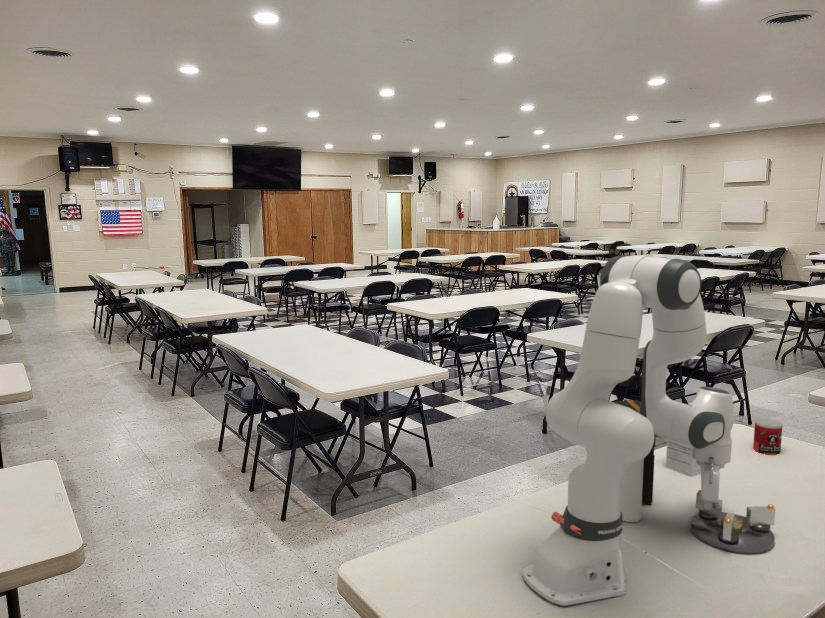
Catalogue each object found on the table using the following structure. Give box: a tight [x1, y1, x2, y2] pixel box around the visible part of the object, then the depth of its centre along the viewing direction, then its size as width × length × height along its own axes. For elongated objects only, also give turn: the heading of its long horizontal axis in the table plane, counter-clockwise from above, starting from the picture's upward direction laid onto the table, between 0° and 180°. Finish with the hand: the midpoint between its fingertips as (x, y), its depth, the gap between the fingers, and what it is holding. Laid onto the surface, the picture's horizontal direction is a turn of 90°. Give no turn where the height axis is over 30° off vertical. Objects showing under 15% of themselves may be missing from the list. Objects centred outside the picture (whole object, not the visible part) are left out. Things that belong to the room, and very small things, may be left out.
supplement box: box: [665, 440, 701, 477], centre depth 187 cm, size 9×9×15 cm
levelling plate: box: [689, 511, 775, 555], centre depth 149 cm, size 18×18×4 cm
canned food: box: [752, 418, 783, 456], centre depth 199 cm, size 8×8×11 cm
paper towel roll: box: [621, 459, 644, 523], centre depth 157 cm, size 7×6×21 cm
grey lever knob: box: [745, 503, 776, 533], centre depth 148 cm, size 6×4×6 cm
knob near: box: [718, 511, 739, 544], centre depth 144 cm, size 6×4×6 cm
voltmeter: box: [613, 399, 656, 506], centre depth 171 cm, size 16×9×25 cm, turn 178°
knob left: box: [695, 489, 723, 521], centre depth 155 cm, size 6×4×6 cm
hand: (707, 504), depth 155 cm, fingers closed on knob left, 3 cm apart
